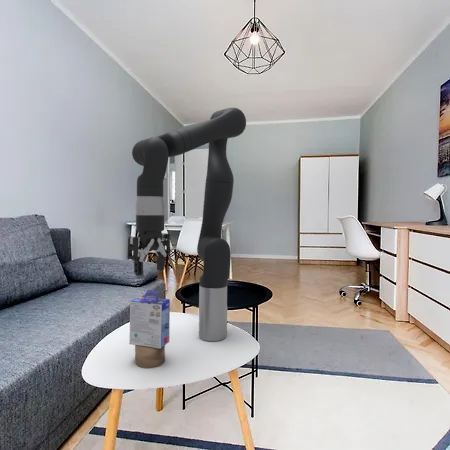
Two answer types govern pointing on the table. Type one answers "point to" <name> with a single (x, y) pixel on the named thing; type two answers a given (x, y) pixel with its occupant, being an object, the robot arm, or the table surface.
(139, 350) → the walnut block
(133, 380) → the table surface
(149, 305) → the ink cartridge box
